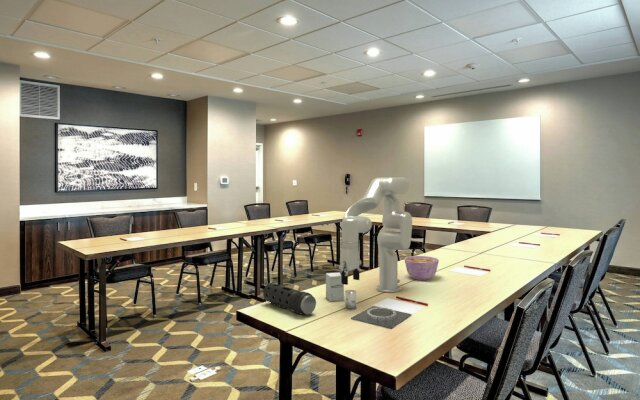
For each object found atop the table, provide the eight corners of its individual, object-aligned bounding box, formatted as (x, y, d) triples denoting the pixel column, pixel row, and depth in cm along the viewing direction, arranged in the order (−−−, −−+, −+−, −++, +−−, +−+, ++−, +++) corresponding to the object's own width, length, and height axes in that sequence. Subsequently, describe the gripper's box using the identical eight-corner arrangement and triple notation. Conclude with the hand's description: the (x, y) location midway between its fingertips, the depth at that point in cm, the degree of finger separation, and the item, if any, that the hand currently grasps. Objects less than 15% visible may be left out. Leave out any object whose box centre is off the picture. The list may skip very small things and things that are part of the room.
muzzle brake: (278, 301, 192) (278, 280, 191) (317, 314, 171) (317, 291, 171) (262, 305, 185) (262, 284, 185) (301, 320, 165) (301, 296, 164)
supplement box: (329, 302, 189) (329, 276, 188) (325, 297, 196) (325, 272, 195) (344, 300, 191) (344, 275, 190) (339, 296, 198) (339, 271, 197)
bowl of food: (398, 276, 237) (397, 257, 237) (426, 273, 243) (426, 254, 243) (415, 284, 218) (415, 263, 218) (445, 281, 224) (446, 261, 223)
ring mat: (373, 307, 180) (373, 302, 180) (411, 315, 169) (411, 310, 169) (350, 319, 165) (350, 314, 165) (391, 329, 154) (391, 323, 154)
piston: (349, 305, 183) (349, 289, 182) (358, 307, 180) (358, 290, 179) (343, 308, 179) (343, 291, 178) (352, 310, 176) (352, 293, 175)
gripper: (353, 241, 187) (353, 276, 188) (332, 247, 173) (333, 284, 174) (367, 243, 182) (367, 279, 183) (346, 248, 168) (347, 287, 169)
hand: (350, 281), depth 178 cm, fingers open, 9 cm apart
